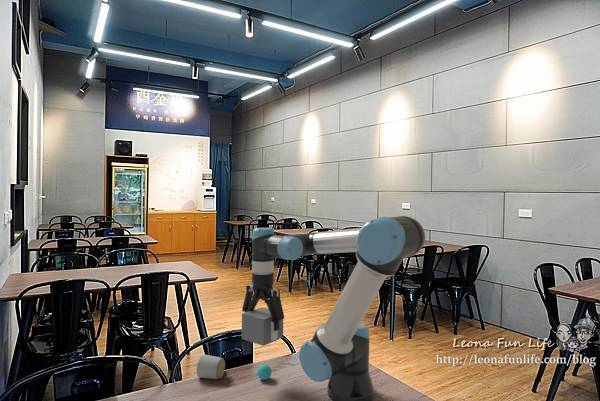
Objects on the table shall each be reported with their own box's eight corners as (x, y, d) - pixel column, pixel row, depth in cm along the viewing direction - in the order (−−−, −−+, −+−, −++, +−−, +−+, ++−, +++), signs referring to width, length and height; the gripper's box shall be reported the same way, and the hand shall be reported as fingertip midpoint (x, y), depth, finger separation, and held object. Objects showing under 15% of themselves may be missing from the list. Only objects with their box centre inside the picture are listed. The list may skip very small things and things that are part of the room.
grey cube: (283, 337, 140) (283, 312, 140) (263, 345, 132) (263, 319, 131) (261, 331, 146) (261, 307, 146) (241, 338, 138) (241, 313, 138)
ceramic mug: (218, 383, 137) (218, 361, 137) (195, 381, 138) (196, 359, 138) (229, 370, 147) (229, 349, 147) (208, 368, 149) (208, 348, 149)
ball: (267, 364, 138) (262, 379, 136) (276, 368, 141) (270, 383, 139) (258, 360, 141) (252, 375, 139) (266, 365, 144) (261, 379, 142)
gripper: (295, 274, 134) (294, 340, 135) (246, 267, 148) (246, 326, 148) (281, 278, 128) (280, 346, 129) (232, 270, 142) (231, 331, 142)
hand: (262, 335), depth 139 cm, fingers closed on grey cube, 10 cm apart
